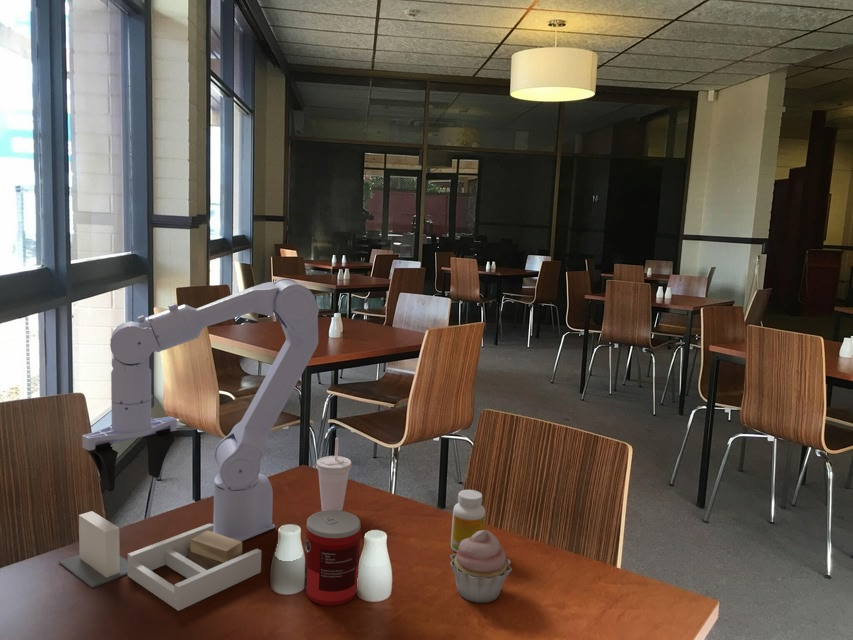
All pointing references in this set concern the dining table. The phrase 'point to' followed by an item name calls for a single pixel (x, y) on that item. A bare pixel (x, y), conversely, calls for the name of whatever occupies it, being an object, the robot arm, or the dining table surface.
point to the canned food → (332, 557)
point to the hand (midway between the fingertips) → (132, 482)
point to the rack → (188, 570)
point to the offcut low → (202, 560)
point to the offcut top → (216, 546)
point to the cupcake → (480, 567)
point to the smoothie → (333, 480)
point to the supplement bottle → (467, 517)
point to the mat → (91, 571)
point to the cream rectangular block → (99, 543)
